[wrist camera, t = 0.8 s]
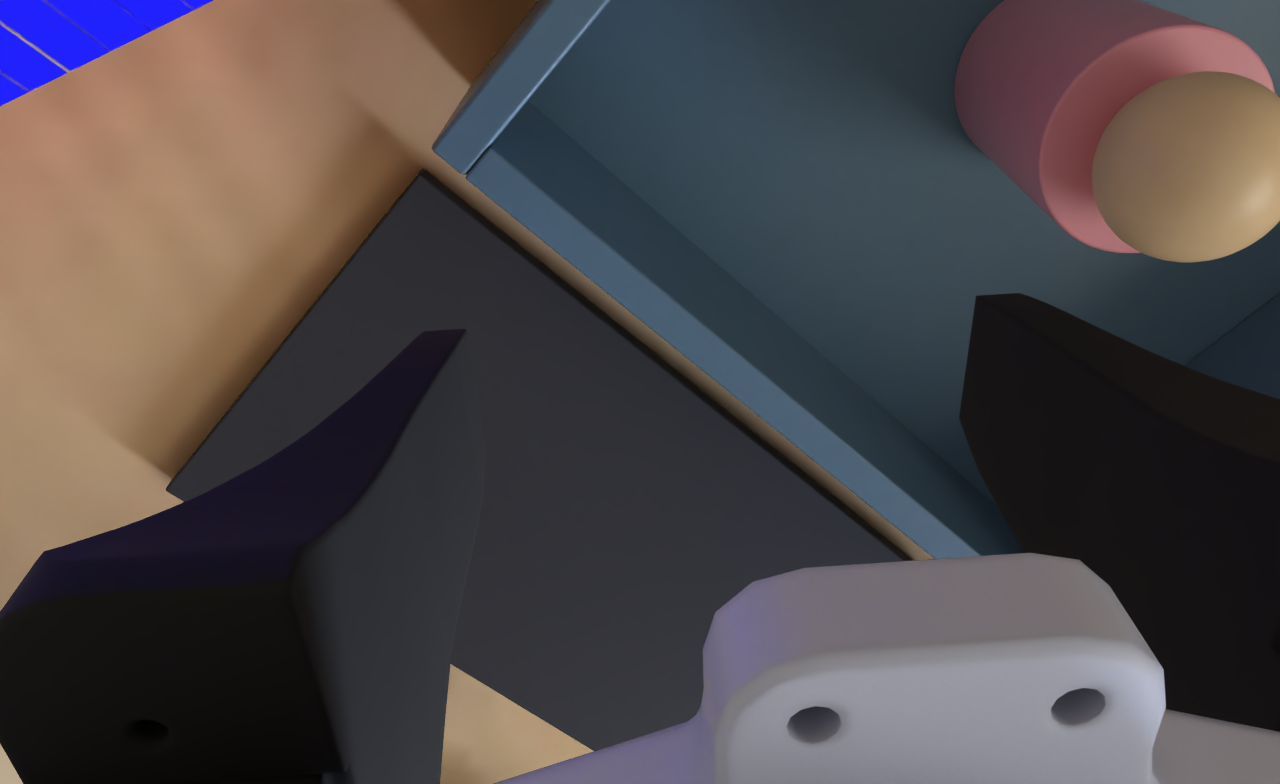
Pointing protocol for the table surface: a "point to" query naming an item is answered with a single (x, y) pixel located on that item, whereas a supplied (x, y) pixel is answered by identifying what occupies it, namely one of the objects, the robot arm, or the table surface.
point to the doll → (1127, 124)
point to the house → (71, 35)
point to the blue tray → (829, 222)
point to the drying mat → (554, 471)
